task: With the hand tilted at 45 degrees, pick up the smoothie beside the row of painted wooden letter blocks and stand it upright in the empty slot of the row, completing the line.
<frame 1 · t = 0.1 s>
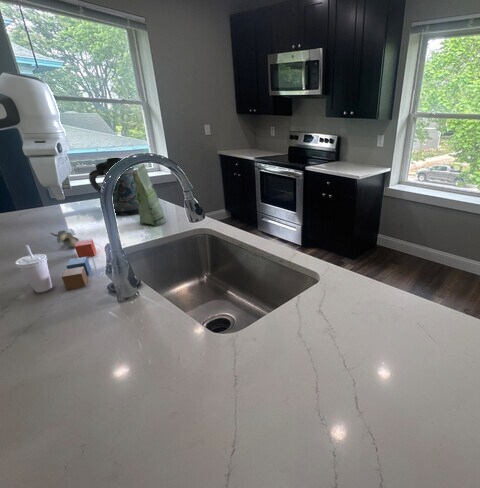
hand: (64, 194, 84), 25 cm above the worktop, tool pointing down, fingers open, 8 cm apart
beer stein: (127, 211, 145), on the worktop
smoothie: (44, 289, 86), on the worktop
eagle figurine: (68, 245, 110), on the worktop
pouch: (152, 223, 133), on the worktop
block row: (82, 269, 95), on the worktop
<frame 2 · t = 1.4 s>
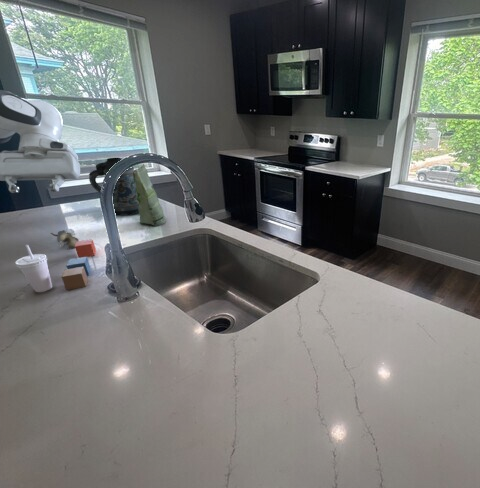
hand: (34, 191, 85), 25 cm above the worktop, tool tilted 45°, fingers open, 8 cm apart
nothing on the worktop moved.
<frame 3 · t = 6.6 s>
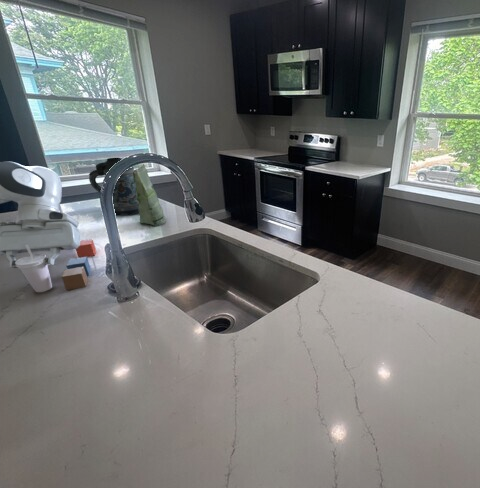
hand: (32, 266, 82), 8 cm above the worktop, tool tilted 45°, fingers closed on smoothie, 6 cm apart
smoothie: (44, 289, 86), on the worktop, touching gripper
everything else where it was.
when the fingers open (8 cm above the worktop, at t = 15.7 s): smoothie stays where it is, on the worktop.
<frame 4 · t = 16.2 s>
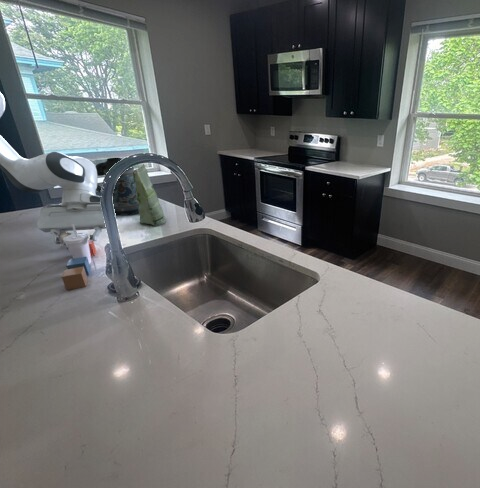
hand: (75, 242, 95), 8 cm above the worktop, tool tilted 45°, fingers open, 8 cm apart
smoothie: (84, 263, 99), on the worktop
everything else where it was.
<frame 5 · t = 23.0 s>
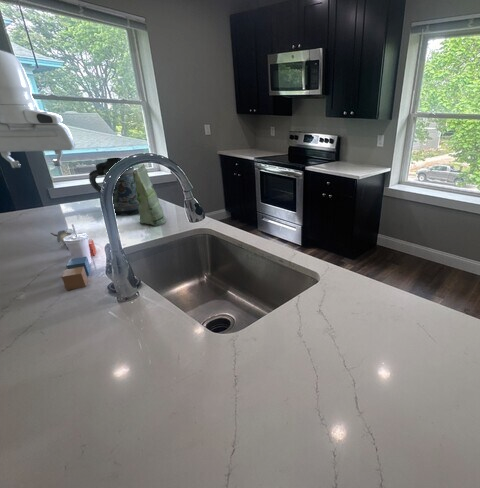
hand: (38, 166, 88), 31 cm above the worktop, tool pointing down, fingers open, 8 cm apart
nothing on the worktop moved.
at the end: smoothie 0.0 cm from the target spot on the block row, point 0.0 cm above the block row's base; smoothie tilted 0°; the gripper is holding nothing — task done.
